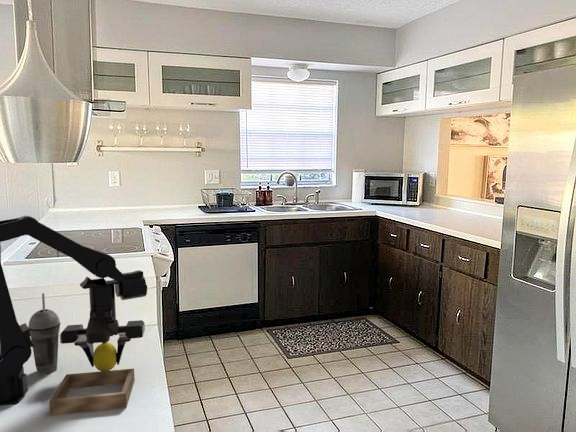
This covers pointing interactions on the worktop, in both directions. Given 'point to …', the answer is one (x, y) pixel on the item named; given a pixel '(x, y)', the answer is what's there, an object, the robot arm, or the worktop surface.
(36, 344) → the beverage cup
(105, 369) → the lemon
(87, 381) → the box
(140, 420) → the worktop surface
